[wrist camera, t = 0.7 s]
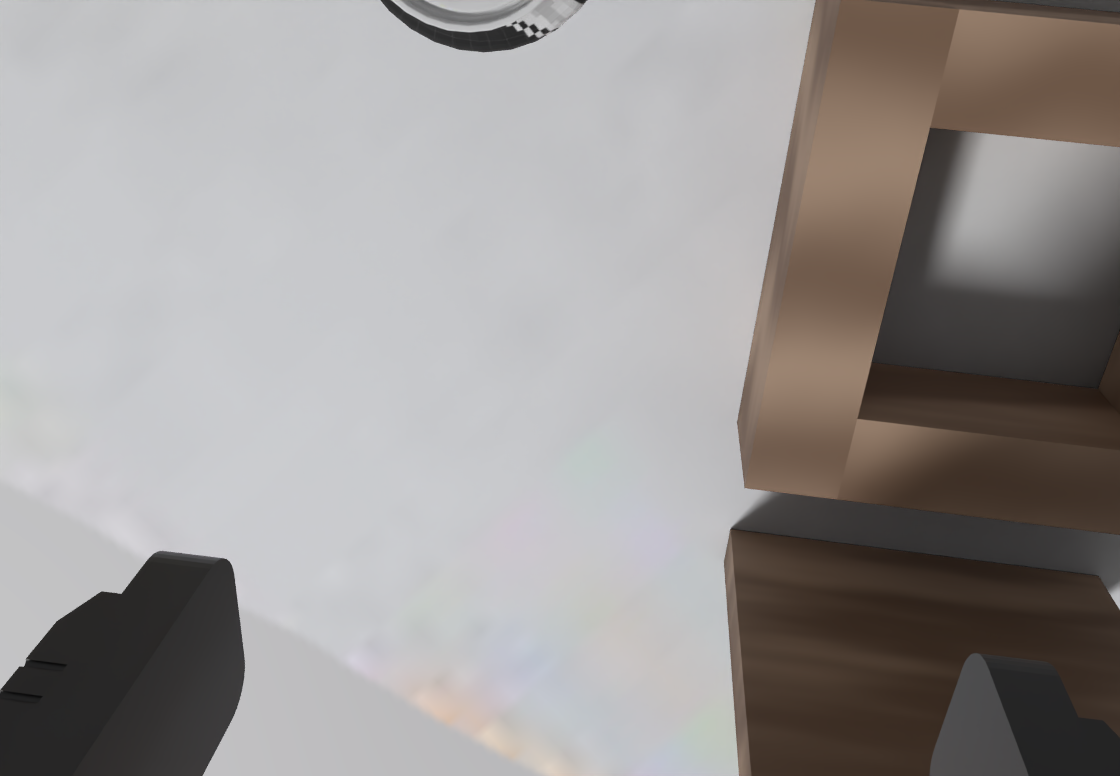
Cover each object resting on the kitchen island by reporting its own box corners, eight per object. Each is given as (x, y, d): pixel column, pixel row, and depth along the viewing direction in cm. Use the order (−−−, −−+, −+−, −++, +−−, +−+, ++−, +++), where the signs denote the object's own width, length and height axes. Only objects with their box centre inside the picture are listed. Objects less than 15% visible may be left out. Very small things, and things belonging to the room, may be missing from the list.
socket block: (818, -16, 29) (841, -2, 25) (1340, 33, 28) (1449, 56, 24) (737, 422, 36) (744, 488, 32) (1155, 473, 35) (1217, 547, 31)
